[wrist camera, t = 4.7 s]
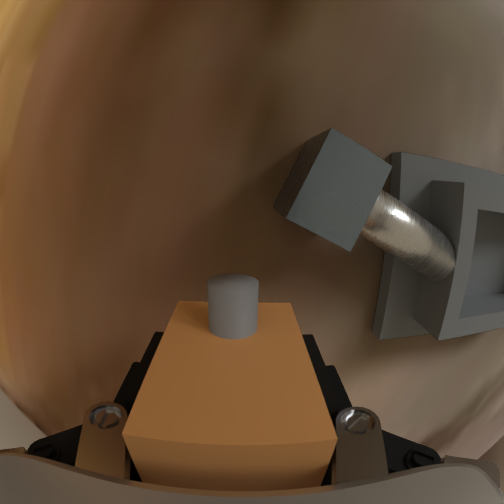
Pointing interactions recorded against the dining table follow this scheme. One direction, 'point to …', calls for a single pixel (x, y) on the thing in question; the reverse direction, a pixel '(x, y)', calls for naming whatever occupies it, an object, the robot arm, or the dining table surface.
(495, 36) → the dining table surface
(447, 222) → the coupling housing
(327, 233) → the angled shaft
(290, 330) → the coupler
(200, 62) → the dining table surface
